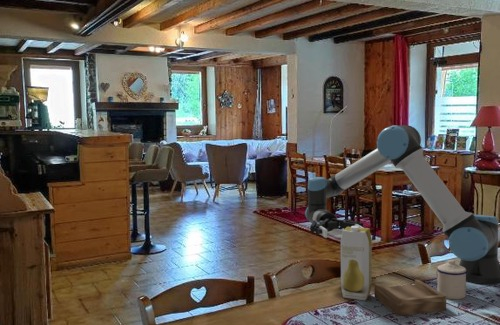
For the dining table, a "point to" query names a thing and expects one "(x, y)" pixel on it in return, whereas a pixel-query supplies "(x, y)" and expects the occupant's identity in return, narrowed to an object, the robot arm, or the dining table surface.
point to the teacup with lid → (451, 280)
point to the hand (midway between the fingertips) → (345, 232)
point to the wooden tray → (410, 298)
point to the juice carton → (356, 262)
